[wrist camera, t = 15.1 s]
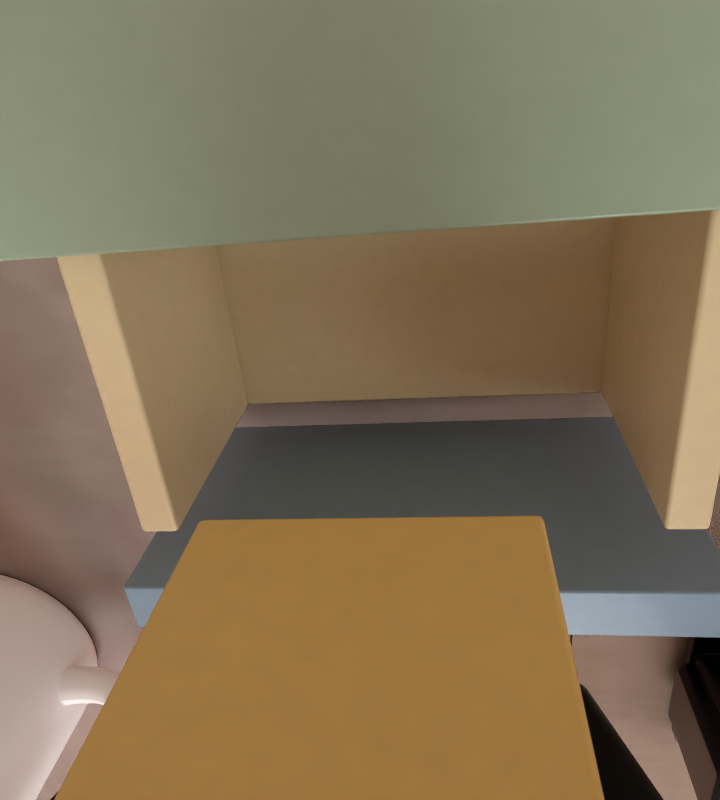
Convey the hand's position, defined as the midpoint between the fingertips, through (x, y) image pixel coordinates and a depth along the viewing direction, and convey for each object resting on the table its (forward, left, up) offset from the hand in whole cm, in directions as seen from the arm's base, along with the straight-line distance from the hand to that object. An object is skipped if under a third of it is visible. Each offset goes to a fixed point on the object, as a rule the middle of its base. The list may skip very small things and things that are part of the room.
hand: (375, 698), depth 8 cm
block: (0, 0, -1) cm, 1 cm away
